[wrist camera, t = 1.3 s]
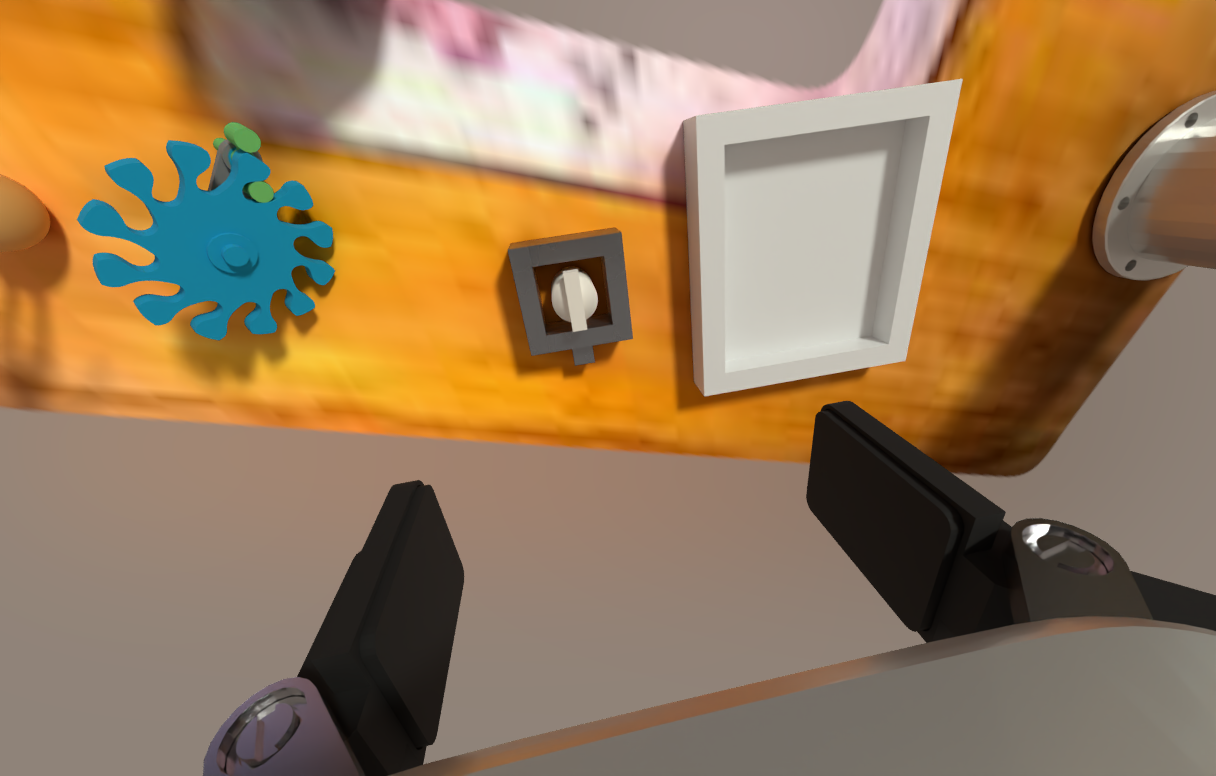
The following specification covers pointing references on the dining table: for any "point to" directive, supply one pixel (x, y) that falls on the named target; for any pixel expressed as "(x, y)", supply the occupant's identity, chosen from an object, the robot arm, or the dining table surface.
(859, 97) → the tray
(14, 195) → the figurine
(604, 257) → the grey square frame
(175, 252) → the blue virus model
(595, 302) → the white rounded knob
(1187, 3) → the dining table surface
